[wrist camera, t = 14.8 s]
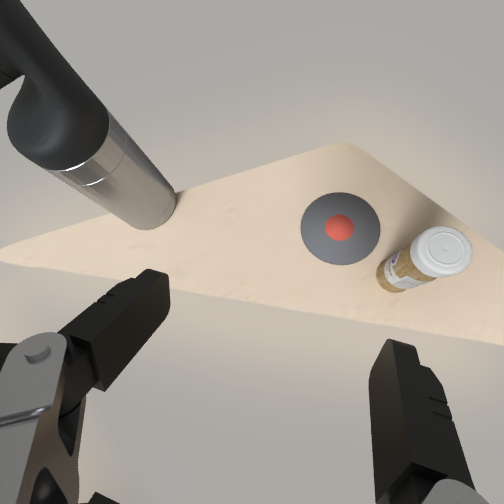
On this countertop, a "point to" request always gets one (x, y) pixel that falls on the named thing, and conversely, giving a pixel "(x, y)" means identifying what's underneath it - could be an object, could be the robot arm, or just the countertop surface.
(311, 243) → the coaster
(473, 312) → the countertop surface
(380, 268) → the sprinkles bottle
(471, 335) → the countertop surface
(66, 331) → the robot arm
